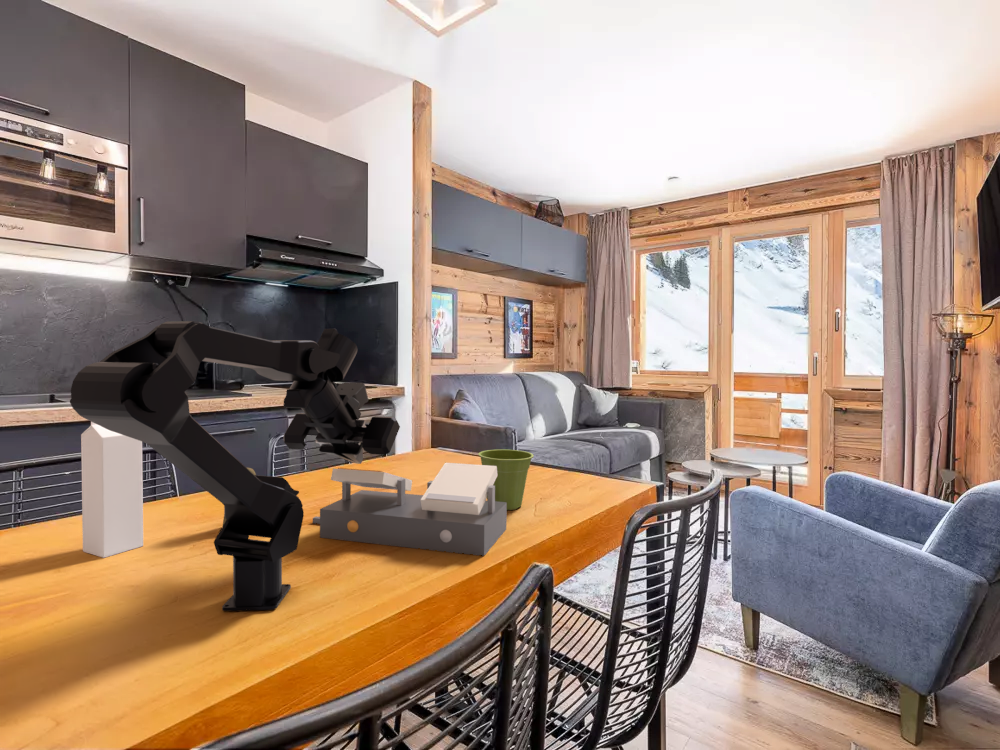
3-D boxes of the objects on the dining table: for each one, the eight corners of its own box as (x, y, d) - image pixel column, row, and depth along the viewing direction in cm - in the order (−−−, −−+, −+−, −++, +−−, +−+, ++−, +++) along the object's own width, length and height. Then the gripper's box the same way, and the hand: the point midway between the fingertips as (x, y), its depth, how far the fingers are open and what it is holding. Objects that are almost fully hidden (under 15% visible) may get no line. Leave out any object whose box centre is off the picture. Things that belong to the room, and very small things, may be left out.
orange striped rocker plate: (382, 484, 90) (384, 471, 91) (330, 479, 93) (333, 467, 93) (410, 490, 101) (412, 479, 102) (363, 487, 104) (365, 475, 104)
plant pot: (501, 517, 105) (502, 461, 105) (466, 504, 114) (467, 452, 114) (544, 507, 112) (545, 455, 112) (508, 496, 122) (508, 447, 121)
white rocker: (478, 514, 86) (477, 503, 86) (422, 509, 89) (420, 498, 88) (497, 475, 97) (496, 465, 96) (446, 471, 100) (445, 461, 99)
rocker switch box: (483, 556, 84) (484, 497, 84) (289, 534, 94) (289, 481, 94) (506, 529, 98) (506, 478, 98) (335, 512, 107) (335, 465, 107)
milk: (82, 552, 85) (79, 414, 84) (123, 540, 90) (120, 411, 89) (104, 558, 82) (100, 416, 81) (144, 546, 87) (142, 413, 87)
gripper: (394, 367, 84) (422, 426, 95) (293, 365, 89) (331, 422, 100) (369, 422, 77) (403, 480, 88) (261, 417, 82) (306, 472, 93)
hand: (360, 461), depth 92 cm, fingers closed
